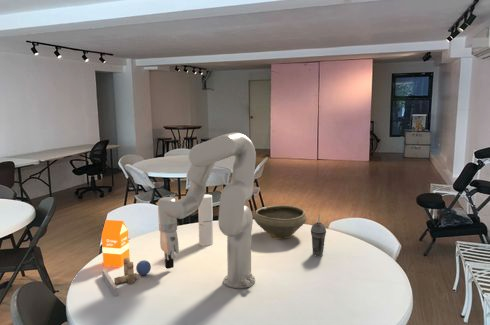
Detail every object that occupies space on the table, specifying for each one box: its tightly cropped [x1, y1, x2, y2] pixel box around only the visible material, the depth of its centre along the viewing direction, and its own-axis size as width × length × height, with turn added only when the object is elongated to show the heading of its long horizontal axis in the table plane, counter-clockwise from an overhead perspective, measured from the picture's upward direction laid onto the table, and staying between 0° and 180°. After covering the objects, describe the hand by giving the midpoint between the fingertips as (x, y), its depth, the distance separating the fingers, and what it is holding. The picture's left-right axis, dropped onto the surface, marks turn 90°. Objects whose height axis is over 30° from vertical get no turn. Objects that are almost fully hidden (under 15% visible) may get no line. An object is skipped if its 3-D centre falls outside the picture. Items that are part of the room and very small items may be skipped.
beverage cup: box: [310, 213, 327, 257], centre depth 183 cm, size 7×7×20 cm
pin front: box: [113, 272, 138, 285], centre depth 158 cm, size 2×2×8 cm
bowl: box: [253, 204, 307, 240], centre depth 210 cm, size 28×28×14 cm
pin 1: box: [123, 258, 131, 276], centre depth 160 cm, size 2×2×8 cm
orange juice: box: [101, 219, 130, 268], centre depth 175 cm, size 8×9×20 cm
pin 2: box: [127, 261, 135, 285], centre depth 156 cm, size 2×2×8 cm
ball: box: [135, 259, 152, 276], centre depth 164 cm, size 6×6×6 cm
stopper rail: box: [101, 268, 119, 297], centre depth 154 cm, size 20×1×3 cm, turn 32°
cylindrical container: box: [197, 193, 214, 247], centre depth 198 cm, size 7×7×25 cm
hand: (169, 267), depth 167 cm, fingers closed
